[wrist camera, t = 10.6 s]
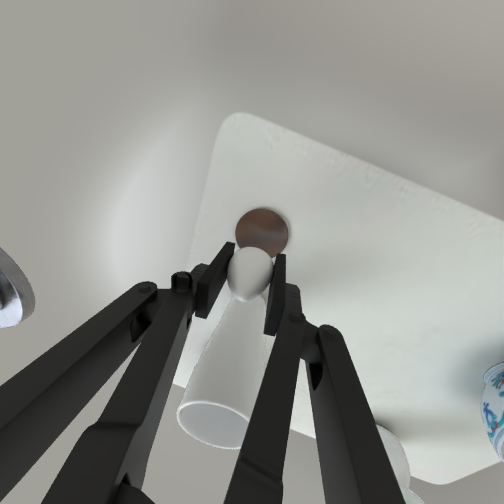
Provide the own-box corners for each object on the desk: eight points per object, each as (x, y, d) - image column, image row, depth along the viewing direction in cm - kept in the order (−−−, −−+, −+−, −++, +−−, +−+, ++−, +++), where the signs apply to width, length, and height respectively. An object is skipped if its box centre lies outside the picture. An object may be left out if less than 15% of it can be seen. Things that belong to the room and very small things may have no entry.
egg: (281, 250, 17) (279, 286, 12) (265, 283, 19) (258, 326, 14) (241, 234, 17) (222, 263, 12) (228, 268, 19) (208, 307, 14)
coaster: (225, 233, 25) (224, 234, 24) (261, 197, 22) (261, 197, 22) (261, 267, 26) (261, 268, 26) (299, 236, 23) (299, 237, 23)
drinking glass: (235, 275, 27) (185, 388, 14) (279, 295, 27) (274, 425, 14) (220, 309, 30) (166, 429, 17) (260, 327, 30) (240, 459, 17)
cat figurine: (380, 449, 39) (429, 602, 25) (321, 426, 39) (340, 568, 25) (411, 430, 35) (490, 598, 21) (346, 404, 35) (385, 558, 21)
